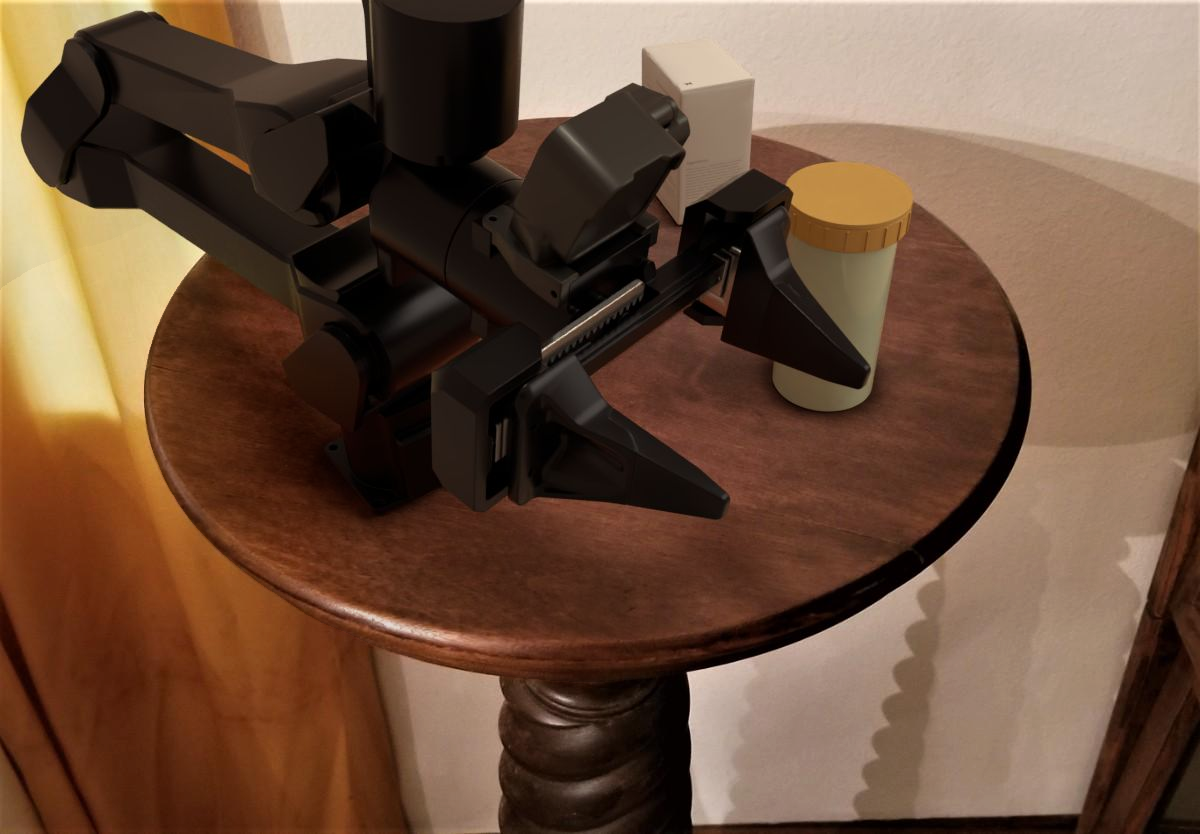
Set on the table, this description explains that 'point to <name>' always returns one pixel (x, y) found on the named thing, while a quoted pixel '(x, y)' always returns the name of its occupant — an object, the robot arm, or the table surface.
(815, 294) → the jar
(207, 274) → the table surface
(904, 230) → the jar lid
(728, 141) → the small box
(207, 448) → the table surface
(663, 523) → the table surface
